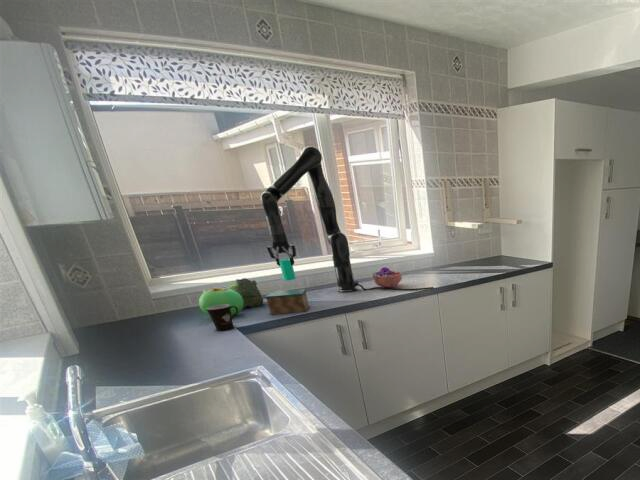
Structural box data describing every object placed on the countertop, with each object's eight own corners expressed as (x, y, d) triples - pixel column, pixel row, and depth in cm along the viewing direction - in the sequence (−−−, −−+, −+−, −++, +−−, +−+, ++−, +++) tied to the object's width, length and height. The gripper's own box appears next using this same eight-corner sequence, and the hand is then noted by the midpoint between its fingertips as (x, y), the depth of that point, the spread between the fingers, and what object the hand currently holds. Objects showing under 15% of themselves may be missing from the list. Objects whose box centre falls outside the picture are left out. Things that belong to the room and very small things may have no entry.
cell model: (377, 292, 245) (373, 272, 240) (372, 285, 261) (369, 267, 256) (406, 288, 251) (403, 269, 246) (399, 282, 267) (397, 264, 262)
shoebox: (310, 306, 220) (305, 289, 216) (306, 311, 211) (301, 293, 207) (275, 309, 216) (270, 291, 213) (270, 314, 207) (265, 296, 203)
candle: (288, 280, 230) (282, 258, 225) (281, 279, 233) (275, 257, 228) (298, 278, 235) (292, 256, 229) (291, 277, 237) (285, 255, 232)
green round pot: (200, 323, 197) (189, 292, 190) (209, 314, 211) (199, 285, 204) (244, 318, 202) (234, 288, 196) (250, 309, 217) (241, 281, 210)
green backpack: (223, 306, 222) (214, 278, 215) (264, 302, 230) (257, 275, 222) (221, 313, 214) (211, 284, 206) (264, 309, 221) (256, 281, 214)
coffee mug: (215, 333, 183) (208, 310, 178) (212, 328, 189) (204, 307, 184) (245, 327, 189) (239, 305, 185) (241, 323, 195) (235, 302, 191)
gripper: (293, 231, 228) (301, 263, 235) (264, 233, 225) (273, 265, 232) (290, 232, 221) (298, 265, 229) (260, 234, 218) (270, 267, 226)
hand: (286, 265), depth 230 cm, fingers closed on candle, 6 cm apart
